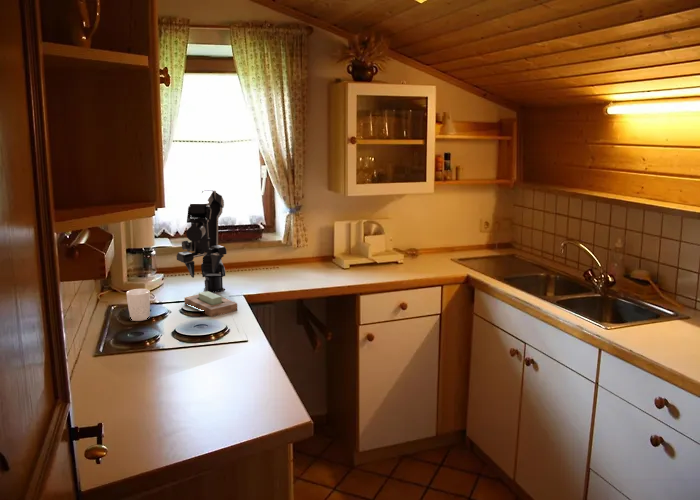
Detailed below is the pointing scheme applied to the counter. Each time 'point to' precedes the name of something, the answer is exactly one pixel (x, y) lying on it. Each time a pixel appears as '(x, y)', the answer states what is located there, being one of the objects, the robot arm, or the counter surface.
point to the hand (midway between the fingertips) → (203, 275)
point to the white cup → (138, 304)
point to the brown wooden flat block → (212, 306)
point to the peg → (210, 298)
